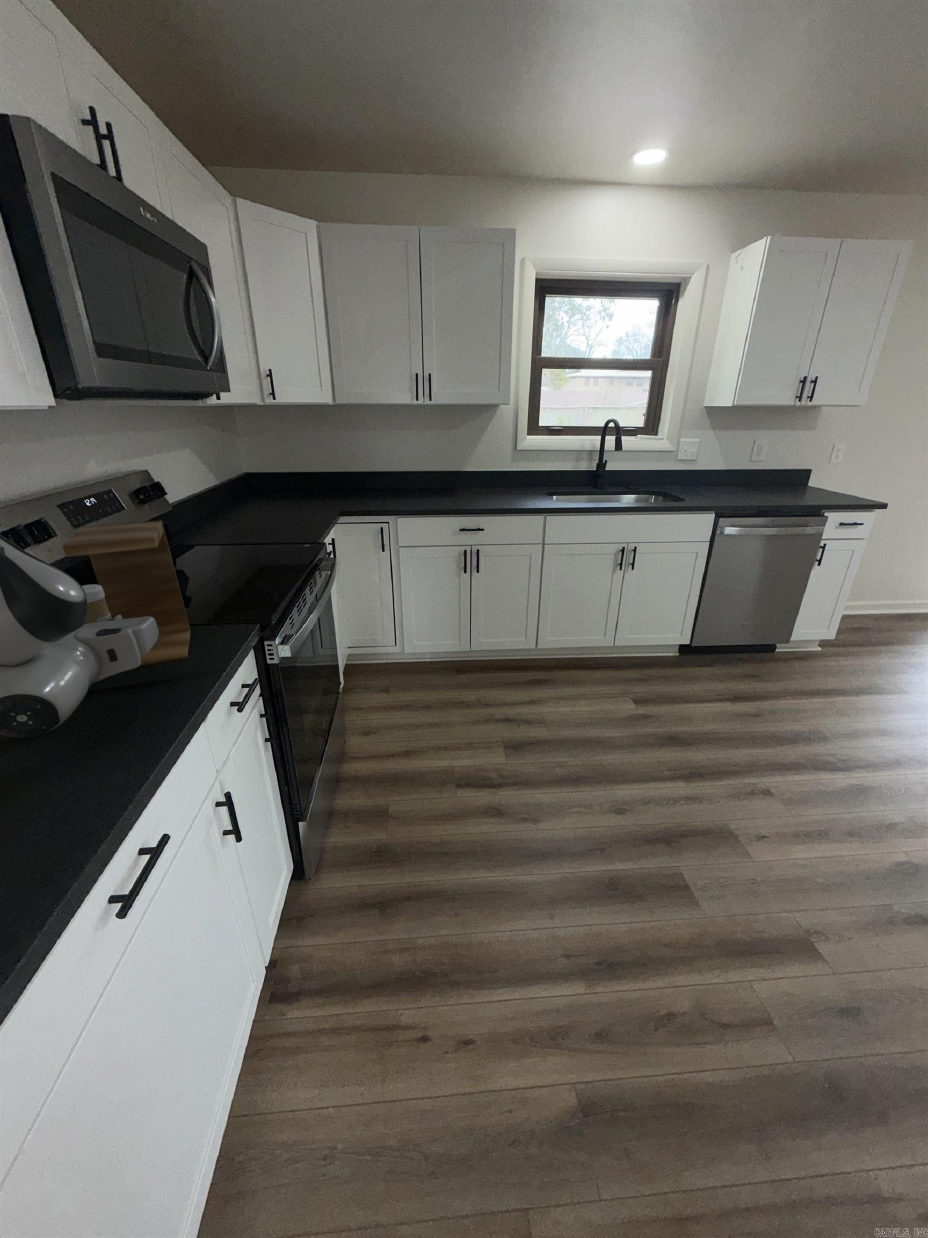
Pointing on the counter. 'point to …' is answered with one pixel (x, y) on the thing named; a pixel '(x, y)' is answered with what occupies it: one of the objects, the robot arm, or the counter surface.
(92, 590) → the sprinkles bottle
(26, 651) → the robot arm
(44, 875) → the counter surface
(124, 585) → the shelf
